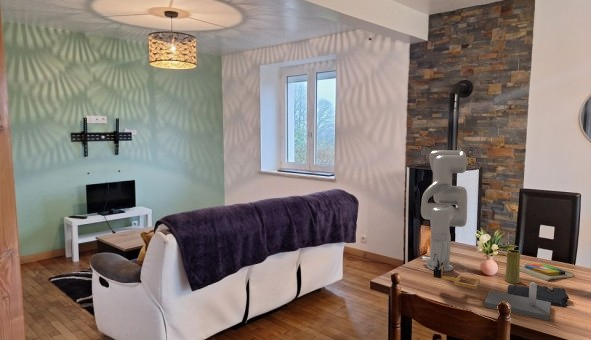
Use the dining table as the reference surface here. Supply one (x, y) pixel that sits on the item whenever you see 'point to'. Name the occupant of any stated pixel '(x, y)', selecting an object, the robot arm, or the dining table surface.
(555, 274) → the wooden puzzle
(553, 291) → the dark slate chunk
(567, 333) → the dining table surface
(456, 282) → the link
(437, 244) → the robot arm
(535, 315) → the keeper board
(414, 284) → the dining table surface
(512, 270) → the vase
